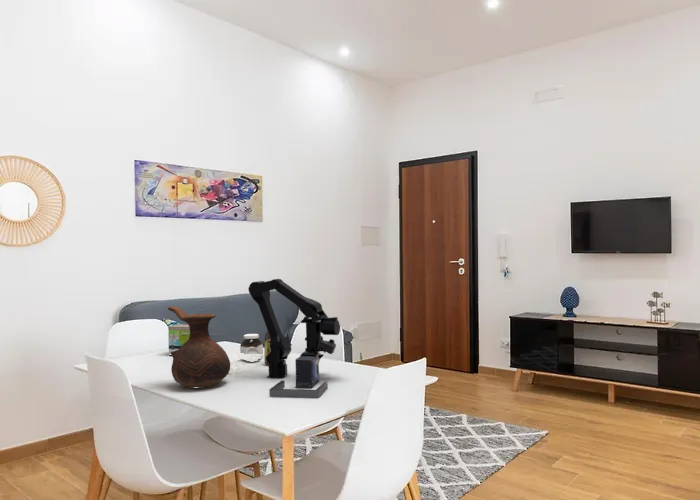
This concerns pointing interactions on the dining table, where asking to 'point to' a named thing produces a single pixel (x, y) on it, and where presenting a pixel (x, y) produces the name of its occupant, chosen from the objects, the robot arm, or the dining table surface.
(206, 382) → the jug
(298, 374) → the small box
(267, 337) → the sauce bottle
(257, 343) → the spread jar
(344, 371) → the dining table surface
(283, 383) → the guide rails
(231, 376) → the dining table surface
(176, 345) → the tea box
